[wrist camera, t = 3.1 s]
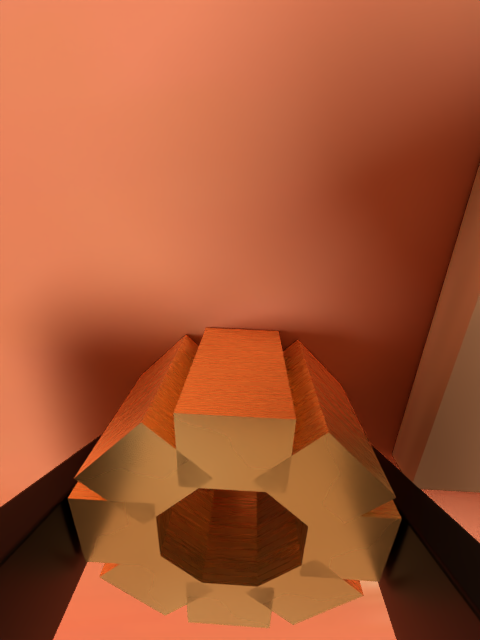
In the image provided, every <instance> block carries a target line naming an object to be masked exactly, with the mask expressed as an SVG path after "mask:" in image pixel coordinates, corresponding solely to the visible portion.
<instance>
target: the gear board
mask: <svg viewBox="0 0 480 640" xmlns="http://www.w3.org/2000/svg"><path fill="white" fill-rule="evenodd" d="M392 455H393V457H394V459H395V461H396V463H397V465H398V466H399V468H400V470H401V472H402V473H403V474H404V475H405V476H406V477H407V478H408V479H410V480H411V481H412V482H413V483H414V484H415V485H416V486H417V487H418V488H419V489H428V490H445V491H462V492H479V493H480V164H479V168H478V171H477V174H476V177H475V181H474V184H473V187H472V191H471V194H470V197H469V201H468V204H467V207H466V211H465V214H464V217H463V221H462V224H461V227H460V231H459V234H458V237H457V241H456V244H455V247H454V251H453V254H452V257H451V261H450V264H449V267H448V270H447V274H446V277H445V280H444V284H443V287H442V290H441V294H440V297H439V300H438V304H437V307H436V310H435V314H434V317H433V320H432V324H431V327H430V330H429V334H428V337H427V340H426V344H425V347H424V350H423V353H422V357H421V360H420V363H419V367H418V370H417V373H416V377H415V380H414V383H413V387H412V390H411V393H410V397H409V400H408V403H407V407H406V410H405V413H404V417H403V420H402V423H401V427H400V430H399V433H398V437H397V440H396V443H395V446H394V450H393V453H392Z"/></svg>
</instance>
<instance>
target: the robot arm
mask: <svg viewBox="0 0 480 640" xmlns="http://www.w3.org/2000/svg"><path fill="white" fill-rule="evenodd" d="M101 436H102V434H101V435H100V436H99V437H97V438H96V439H94V440H93V441H92V442H90V443H89V444H88V445H86V446H85V447H83V448H82V449H81V450H79V451H78V452H76V453H75V454H74V455H72V456H71V457H69V458H68V459H67V460H65V461H64V462H62V463H61V464H60V465H58V466H57V467H56V468H54V469H53V470H51V471H50V472H49V473H47V474H46V475H44V476H43V477H42V478H40V479H39V480H37V481H36V482H35V483H33V484H32V485H31V486H29V487H28V488H26V489H25V490H24V491H22V492H21V493H19V494H18V495H17V496H15V497H14V498H12V499H11V500H10V501H8V502H7V503H6V504H4V505H3V506H1V507H0V640H53V638H54V636H55V634H56V631H57V629H58V627H59V625H60V622H61V620H62V618H63V616H64V613H65V611H66V609H67V607H68V604H69V602H70V600H71V598H72V595H73V593H74V591H75V589H76V586H77V584H78V582H79V580H80V577H81V575H82V573H83V571H84V568H85V566H86V564H87V562H86V561H85V559H84V555H83V552H82V548H81V545H80V541H79V537H78V534H77V530H76V527H75V523H74V520H73V516H72V512H71V509H70V505H69V502H68V497H69V495H70V494H71V492H72V490H73V489H74V487H75V486H76V484H77V483H78V481H77V480H76V479H74V477H75V476H76V474H77V473H78V471H79V470H80V468H81V467H82V465H83V464H84V462H85V461H86V459H87V457H88V456H89V454H90V453H91V451H92V450H93V448H94V447H95V445H96V444H97V442H98V441H99V439H100V438H101ZM371 447H372V449H373V451H374V453H375V455H376V457H377V459H378V461H379V463H380V465H381V467H382V470H383V472H384V474H385V476H386V478H387V480H388V482H389V484H390V486H391V488H392V490H393V492H394V494H395V496H396V498H395V499H393V502H394V504H395V506H396V508H397V510H398V512H399V514H400V516H401V519H402V520H401V522H400V525H399V528H398V531H397V534H396V536H395V539H394V542H393V545H392V548H391V550H390V553H389V556H388V559H387V562H386V564H385V567H384V570H383V573H382V576H381V578H380V581H378V583H379V587H380V590H381V593H382V596H383V599H384V602H385V605H386V608H387V611H388V614H389V618H390V621H391V624H392V627H393V630H394V633H395V636H396V639H397V640H480V543H479V542H478V541H477V540H476V539H475V538H473V537H472V536H471V535H470V534H469V533H468V532H467V531H466V530H465V529H464V528H462V527H461V526H460V525H459V524H458V523H457V522H456V521H455V520H454V519H453V518H451V517H450V516H449V515H448V514H447V513H446V512H445V511H444V510H443V509H442V508H440V507H439V506H438V505H437V504H436V503H435V502H434V501H433V500H432V499H430V498H429V497H428V496H427V495H426V494H425V493H424V492H423V491H422V490H421V489H419V488H418V487H417V486H416V485H415V484H414V483H413V482H412V481H411V480H410V479H408V478H407V477H406V476H405V475H404V474H403V473H402V472H401V471H400V470H399V469H397V468H396V467H395V466H394V465H393V464H392V463H391V462H390V461H389V460H387V459H386V458H385V457H384V456H383V455H382V454H381V453H380V452H379V451H378V450H376V449H375V448H374V447H373V446H372V445H371Z"/></svg>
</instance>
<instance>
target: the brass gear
mask: <svg viewBox="0 0 480 640" xmlns="http://www.w3.org/2000/svg"><path fill="white" fill-rule="evenodd" d="M74 479H76V480H77V481H78V483H77V484H76V486H75V487H74V489H73V490H72V492H71V494H70V495H69V497H68V502H69V505H70V509H71V512H72V516H73V520H74V523H75V527H76V530H77V534H78V537H79V541H80V545H81V548H82V552H83V555H84V559H85V561H86V562H101V563H105V565H104V567H103V569H102V572H101V574H100V578H102V579H103V580H105V581H107V582H109V583H110V584H112V585H114V586H115V587H117V588H119V589H121V590H122V591H124V592H126V593H127V594H129V595H131V596H133V597H134V598H136V599H138V600H139V601H141V602H143V603H145V604H146V605H148V606H150V607H152V608H153V609H155V610H157V611H158V612H160V613H162V614H164V615H167V614H169V613H171V612H173V611H175V610H177V609H179V608H181V607H183V606H185V605H187V612H188V622H193V623H206V624H220V625H233V626H247V627H261V628H269V627H270V620H271V612H272V611H273V612H275V613H276V614H278V615H279V616H281V617H282V618H284V619H285V620H287V621H288V622H290V623H291V624H293V625H294V624H296V623H299V622H301V621H304V620H306V619H308V618H311V617H313V616H316V615H318V614H320V613H323V612H325V611H328V610H330V609H332V608H335V607H337V606H340V605H342V604H344V603H347V602H349V601H352V600H354V599H357V598H359V597H361V596H364V595H363V592H362V588H361V585H360V581H359V580H364V581H380V578H381V576H382V573H383V570H384V567H385V564H386V562H387V559H388V556H389V553H390V550H391V548H392V545H393V542H394V539H395V536H396V534H397V531H398V528H399V525H400V522H401V520H402V519H401V516H400V514H399V512H398V510H397V508H396V506H395V504H394V502H393V499H395V498H396V496H395V494H394V492H393V490H392V488H391V486H390V484H389V482H388V480H387V478H386V476H385V474H384V472H383V470H382V467H381V465H380V463H379V461H378V459H377V457H376V455H375V453H374V451H373V449H372V447H371V445H370V443H369V441H368V439H367V437H366V434H365V432H364V430H363V428H362V426H361V424H360V422H359V420H358V418H357V416H356V414H355V412H354V410H353V408H352V406H351V404H350V402H349V399H348V397H347V395H346V393H345V391H344V389H343V387H342V385H341V384H340V383H339V382H338V381H337V380H336V379H335V378H334V377H333V376H332V375H331V373H330V372H329V371H328V370H327V369H326V368H325V367H324V366H323V365H322V364H321V363H320V362H319V361H318V360H317V359H316V358H315V357H314V356H313V355H312V353H311V352H310V351H309V350H308V349H307V348H306V347H305V346H304V345H303V344H302V343H301V342H300V341H299V340H297V341H296V342H294V343H293V344H292V345H290V346H289V347H288V348H286V349H285V350H284V351H283V350H282V345H281V340H280V335H279V331H268V330H245V329H223V328H206V329H205V332H204V334H203V337H202V339H201V342H200V345H199V346H198V345H197V344H196V343H195V342H194V341H193V340H192V339H191V338H190V337H189V336H187V335H185V336H184V337H183V338H182V339H181V340H180V341H178V342H177V343H176V344H175V345H174V346H173V347H172V348H171V349H170V350H168V351H167V352H166V353H165V354H164V355H163V356H162V357H161V358H160V359H159V360H157V361H156V362H155V363H154V364H153V365H152V366H151V367H150V368H149V369H147V370H146V371H145V372H144V373H143V374H142V375H141V376H140V378H139V379H138V381H137V382H136V384H135V385H134V387H133V389H132V390H131V392H130V393H129V395H128V396H127V398H126V399H125V401H124V402H123V404H122V405H121V407H120V408H119V410H118V411H117V413H116V415H115V416H114V418H113V419H112V421H111V422H110V424H109V425H108V427H107V428H106V430H105V431H104V433H103V434H102V436H101V438H100V439H99V441H98V442H97V444H96V445H95V447H94V448H93V450H92V451H91V453H90V454H89V456H88V457H87V459H86V461H85V462H84V464H83V465H82V467H81V468H80V470H79V471H78V473H77V474H76V476H75V477H74Z"/></svg>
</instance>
